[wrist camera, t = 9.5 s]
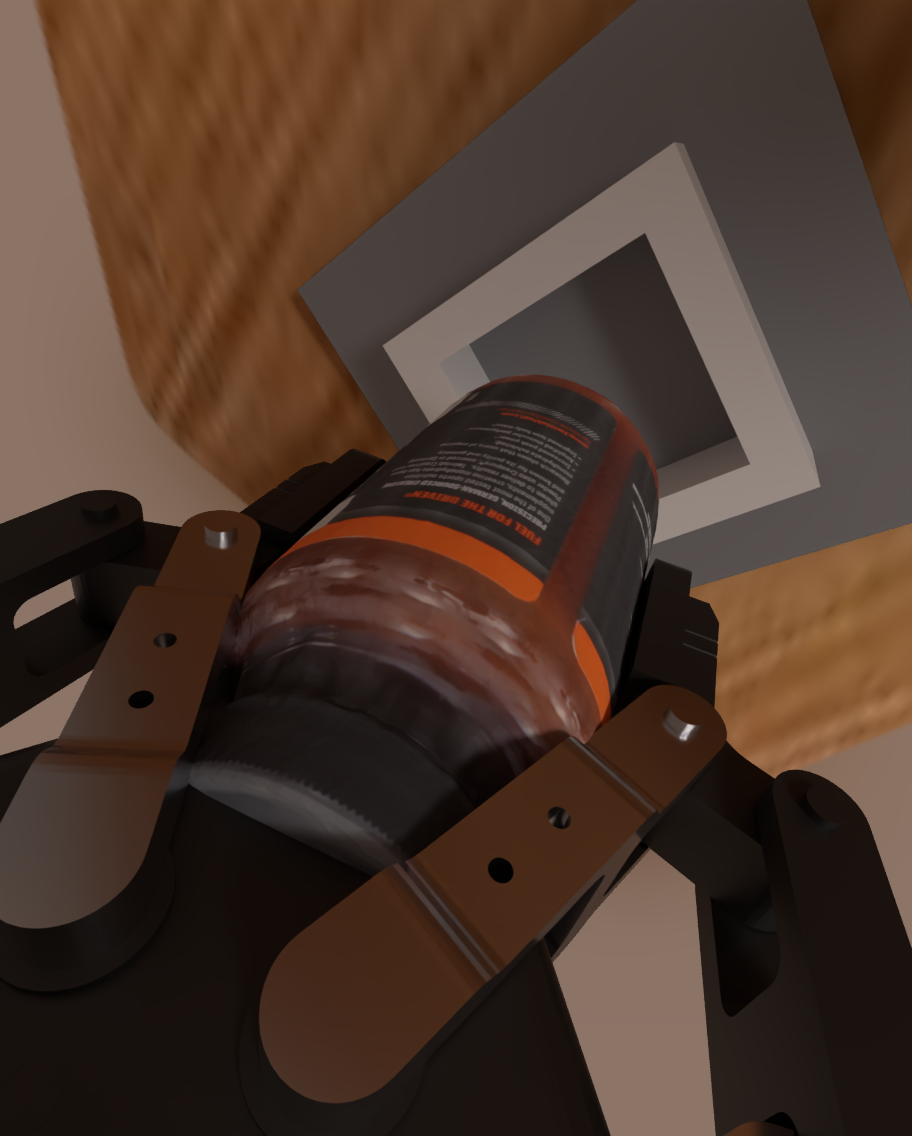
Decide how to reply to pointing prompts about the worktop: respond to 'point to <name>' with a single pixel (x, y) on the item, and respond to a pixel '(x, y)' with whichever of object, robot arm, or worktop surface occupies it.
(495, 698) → the supplement bottle
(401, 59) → the worktop surface
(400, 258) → the collar plate
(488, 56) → the worktop surface
